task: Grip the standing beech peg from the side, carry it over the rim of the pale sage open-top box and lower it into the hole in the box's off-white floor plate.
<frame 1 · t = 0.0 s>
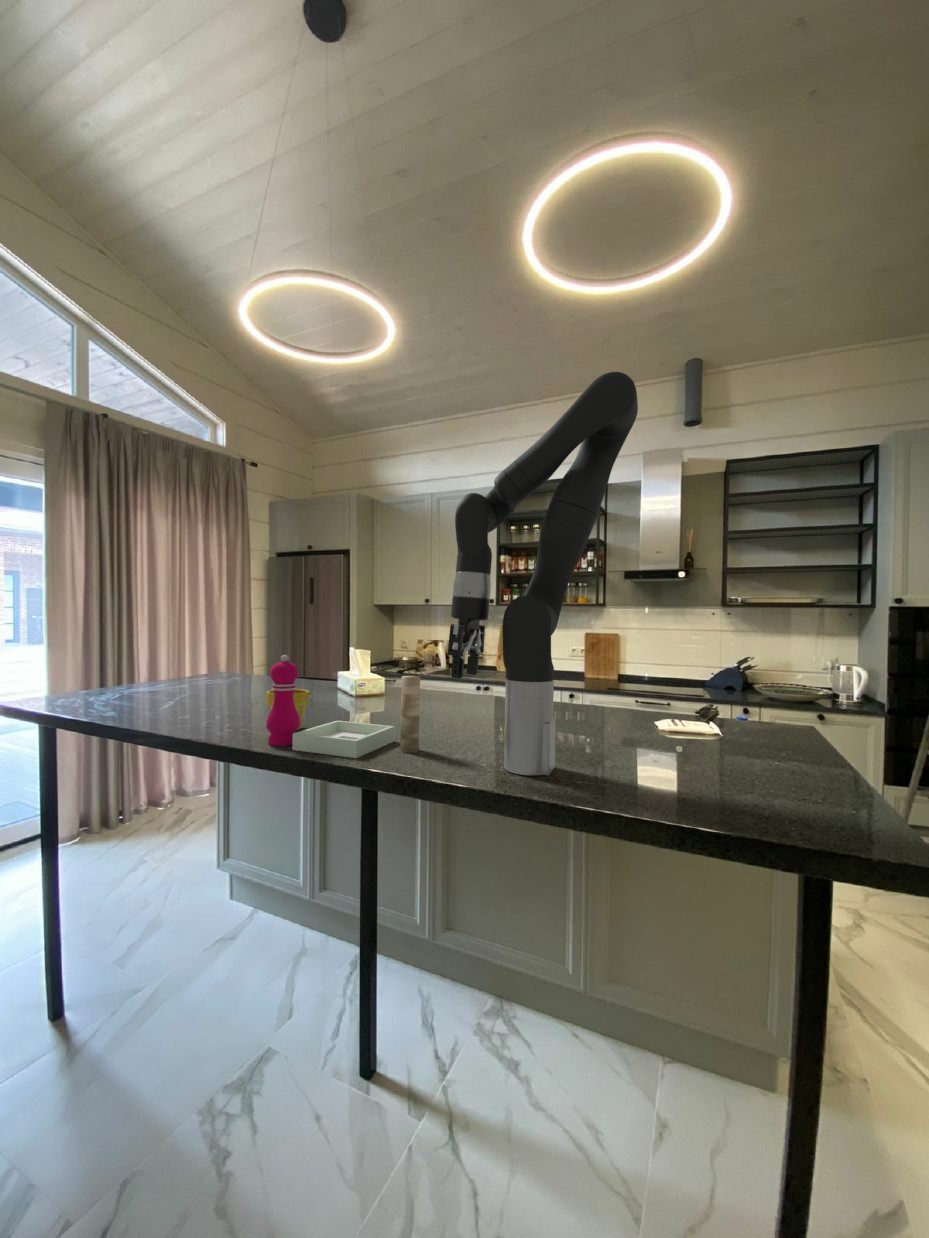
hand: (464, 676, 100), 17 cm above the countertop, tool pointing down, fingers open, 8 cm apart
peg: (409, 750, 108), on the countertop
plant pot: (287, 730, 127), on the countertop
bin: (345, 745, 111), on the countertop
pepper mill: (282, 743, 112), on the countertop
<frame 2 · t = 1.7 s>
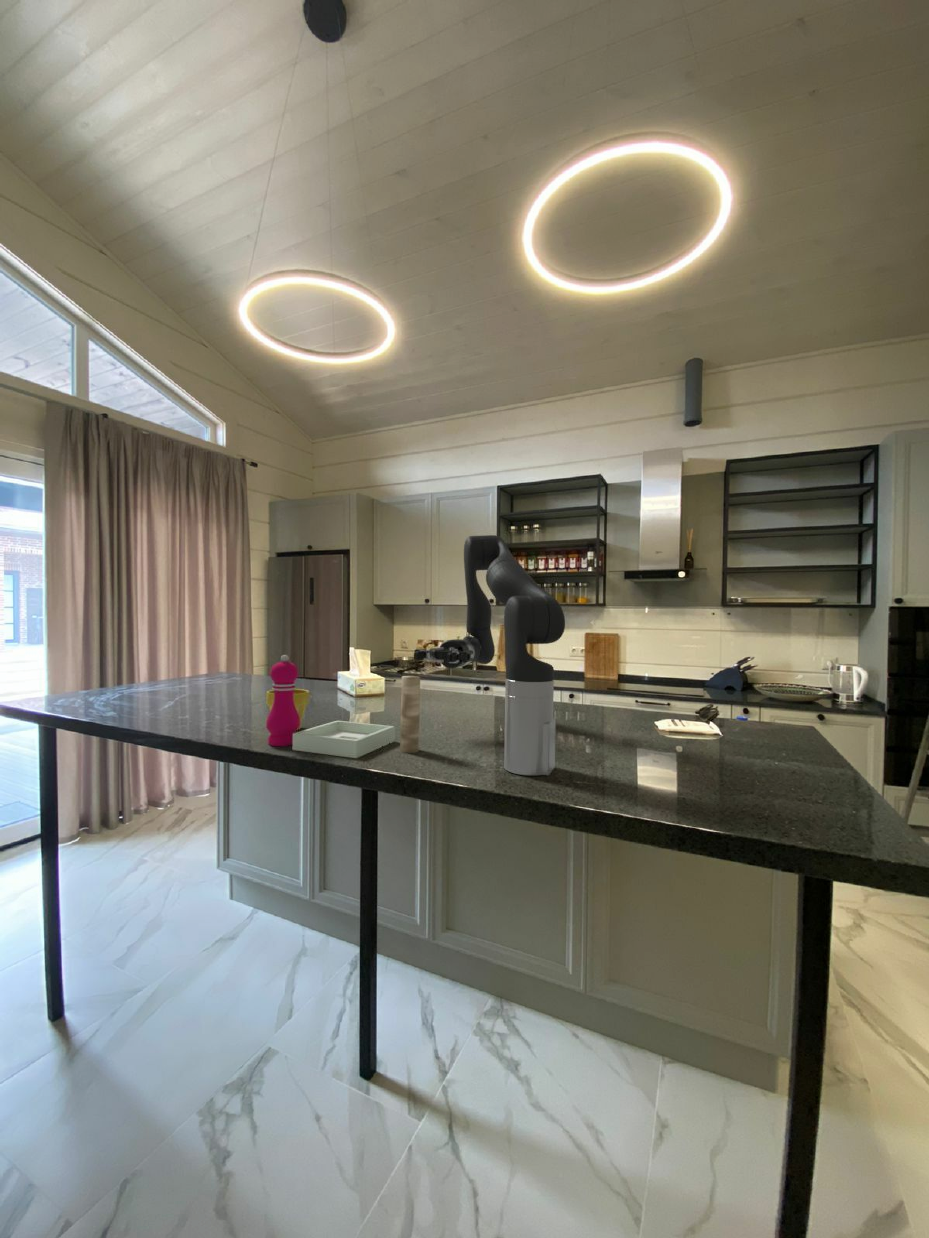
hand: (432, 657, 118), 20 cm above the countertop, tool horizontal, fingers open, 8 cm apart
nothing on the countertop moved.
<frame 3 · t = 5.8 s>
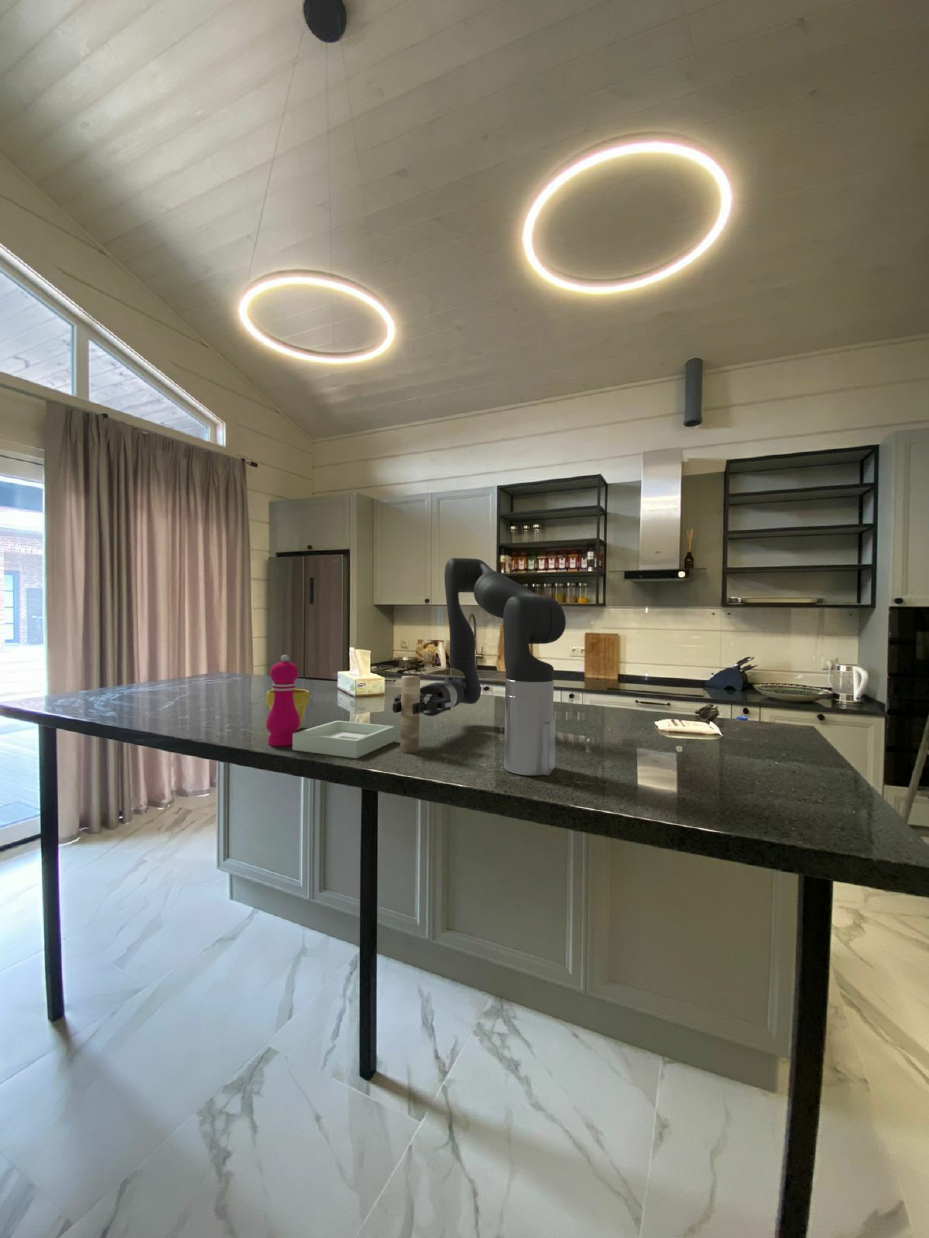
hand: (404, 708, 105), 10 cm above the countertop, tool horizontal, fingers closed on peg, 4 cm apart
peg: (409, 750, 108), on the countertop, touching gripper
everything else where it was.
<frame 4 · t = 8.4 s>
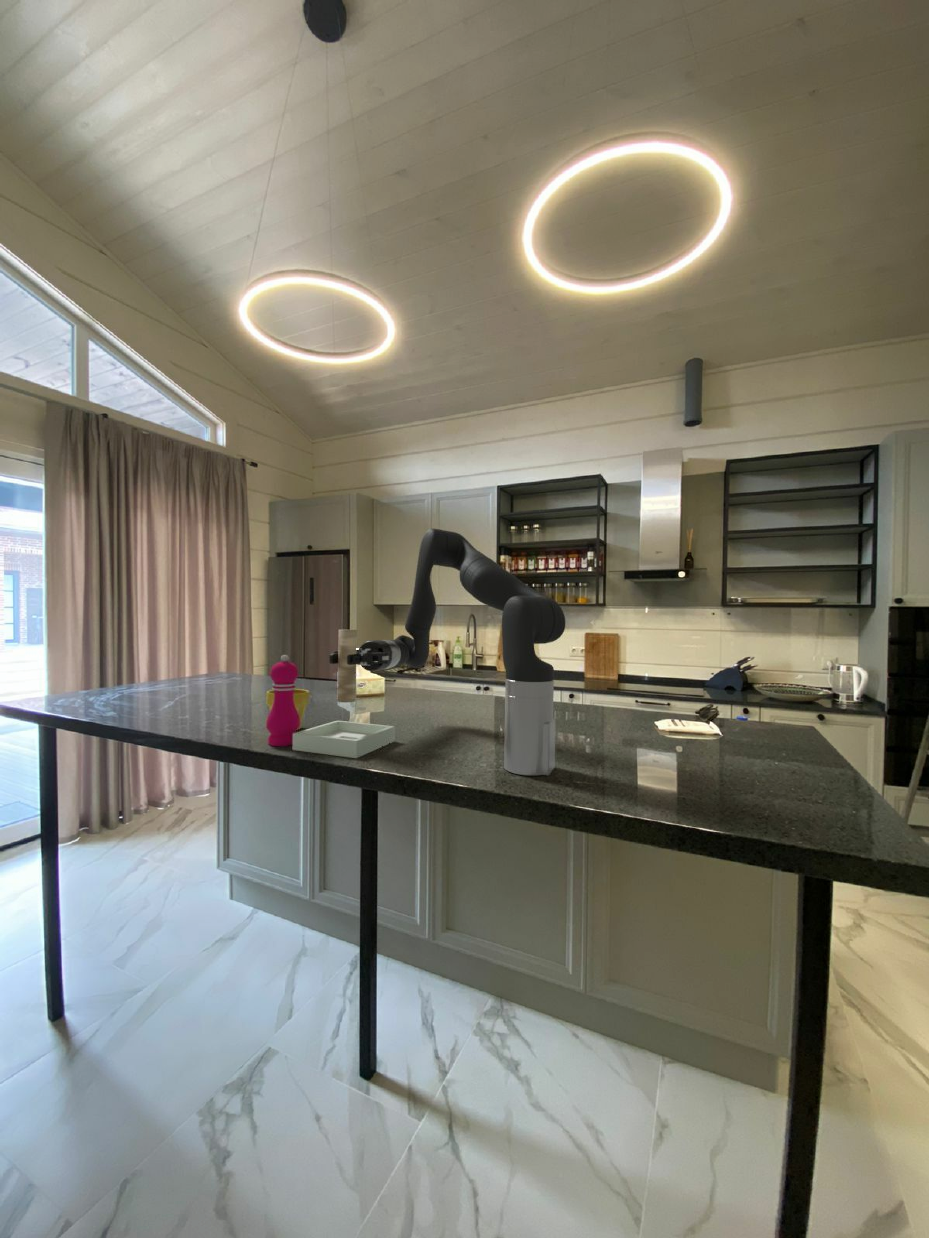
hand: (340, 659, 109), 19 cm above the countertop, tool horizontal, fingers closed on peg, 4 cm apart
peg: (346, 700, 111), point 10 cm above the countertop, touching gripper
everything else where it was.
when the fingers open (10 cm above the countertop, at t = 10.8 s): peg stays where it is, resting in bin.
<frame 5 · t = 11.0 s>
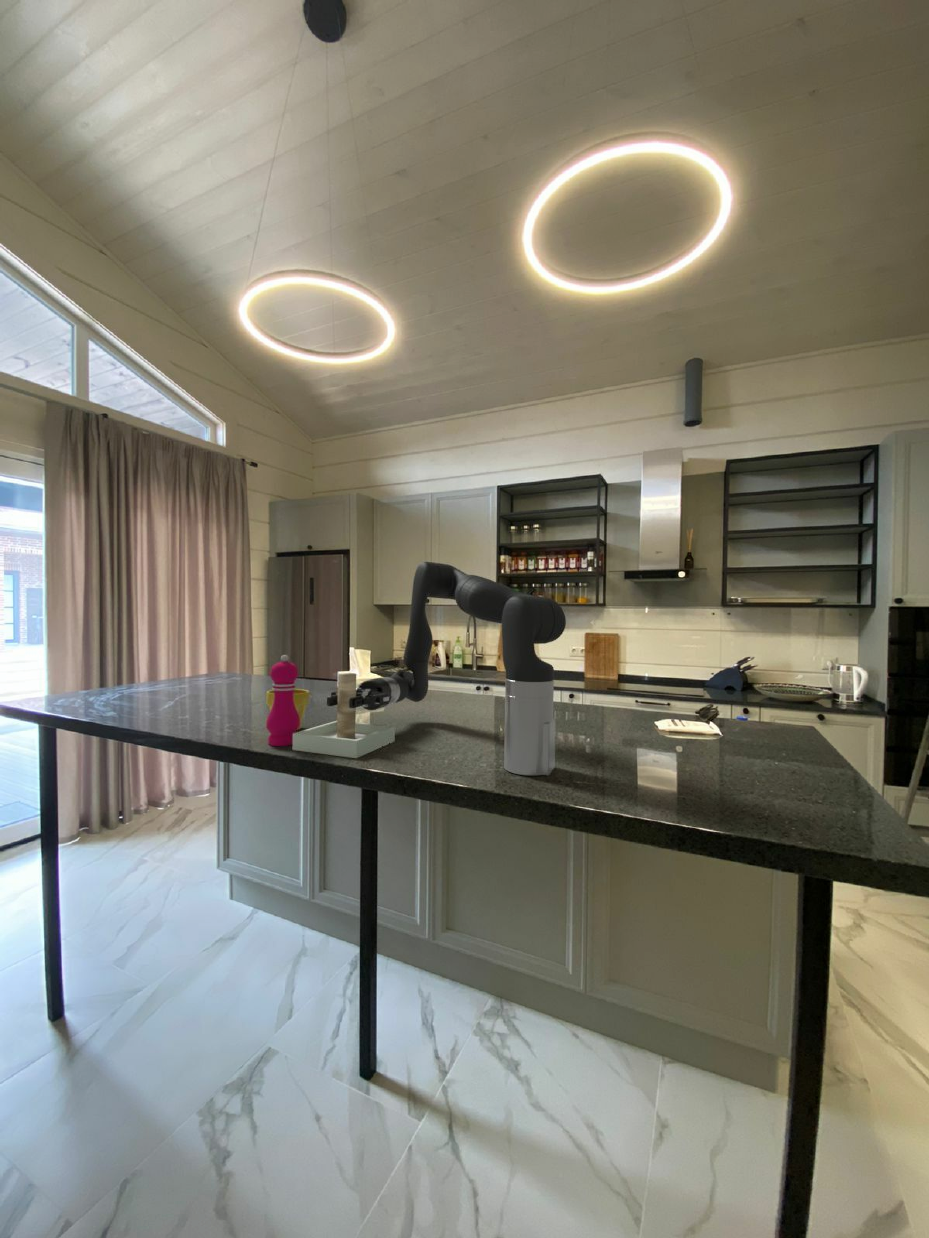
hand: (339, 702, 109), 10 cm above the countertop, tool horizontal, fingers open, 5 cm apart
peg: (345, 745, 111), resting in bin
everything else where it was.
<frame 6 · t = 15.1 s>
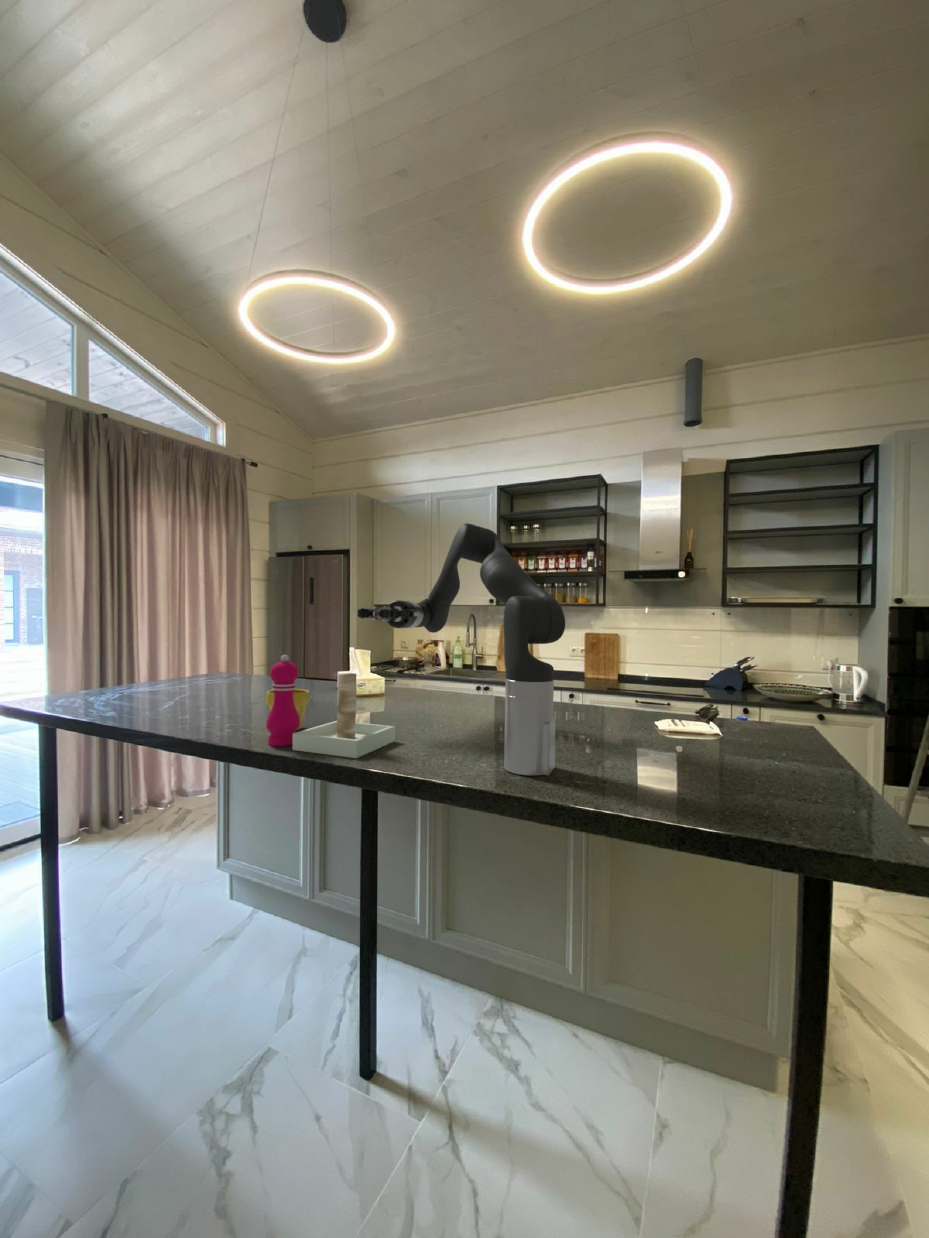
hand: (374, 613, 122), 30 cm above the countertop, tool horizontal, fingers open, 8 cm apart
nothing on the countertop moved.
at the end: peg 0.1 cm off-centre on the bin, point 0.0 cm above the bin's base; peg tilted 0°; the gripper is holding nothing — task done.
